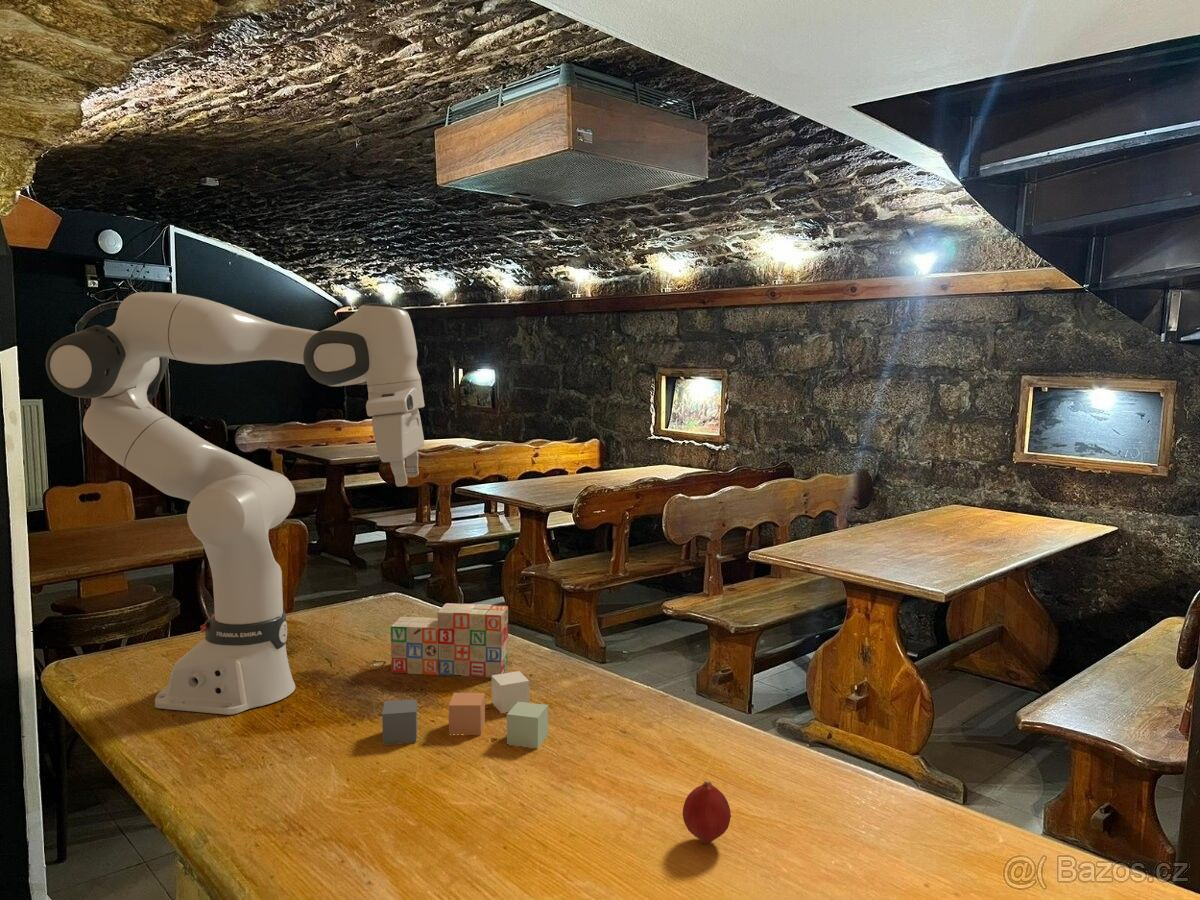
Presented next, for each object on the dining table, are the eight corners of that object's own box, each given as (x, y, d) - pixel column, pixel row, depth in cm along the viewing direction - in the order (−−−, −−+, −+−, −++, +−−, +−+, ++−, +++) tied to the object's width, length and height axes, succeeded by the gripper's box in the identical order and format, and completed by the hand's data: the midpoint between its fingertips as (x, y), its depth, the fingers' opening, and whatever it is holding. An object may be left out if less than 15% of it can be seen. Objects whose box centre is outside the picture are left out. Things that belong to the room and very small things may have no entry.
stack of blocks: (390, 673, 158) (389, 610, 156) (401, 662, 164) (400, 600, 163) (502, 678, 156) (501, 614, 154) (508, 666, 162) (508, 604, 161)
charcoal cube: (382, 745, 128) (382, 714, 127) (385, 731, 133) (384, 701, 132) (416, 743, 129) (415, 711, 128) (417, 729, 134) (416, 699, 133)
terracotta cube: (449, 736, 131) (448, 705, 131) (454, 722, 136) (453, 692, 136) (480, 736, 131) (480, 705, 131) (484, 722, 136) (484, 692, 136)
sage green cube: (506, 745, 128) (506, 714, 128) (518, 731, 133) (518, 701, 133) (537, 749, 127) (537, 717, 127) (548, 735, 132) (548, 704, 131)
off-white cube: (501, 714, 140) (500, 685, 139) (491, 703, 144) (491, 675, 144) (529, 709, 142) (529, 680, 141) (519, 698, 146) (519, 671, 146)
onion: (678, 829, 105) (679, 769, 104) (723, 828, 106) (725, 767, 105) (687, 857, 99) (688, 792, 98) (734, 854, 100) (736, 791, 99)
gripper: (391, 398, 150) (402, 474, 152) (362, 406, 130) (375, 493, 132) (426, 394, 150) (436, 470, 152) (403, 401, 130) (415, 489, 132)
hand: (408, 481), depth 142 cm, fingers open, 8 cm apart
